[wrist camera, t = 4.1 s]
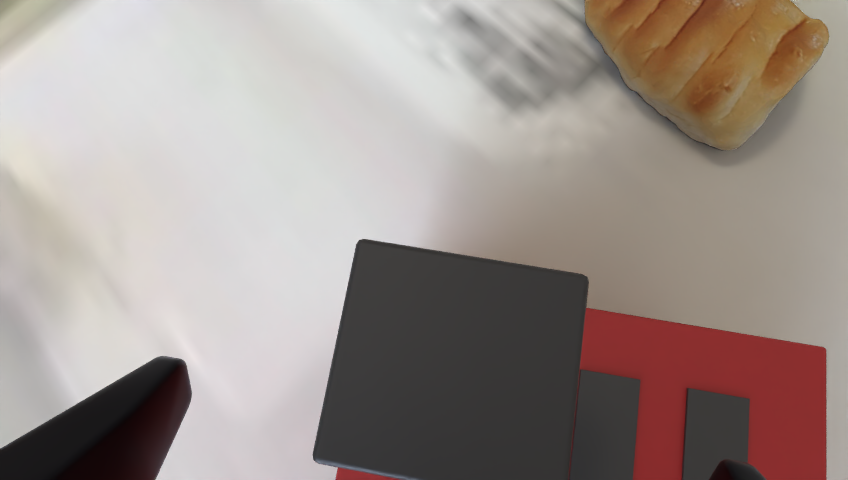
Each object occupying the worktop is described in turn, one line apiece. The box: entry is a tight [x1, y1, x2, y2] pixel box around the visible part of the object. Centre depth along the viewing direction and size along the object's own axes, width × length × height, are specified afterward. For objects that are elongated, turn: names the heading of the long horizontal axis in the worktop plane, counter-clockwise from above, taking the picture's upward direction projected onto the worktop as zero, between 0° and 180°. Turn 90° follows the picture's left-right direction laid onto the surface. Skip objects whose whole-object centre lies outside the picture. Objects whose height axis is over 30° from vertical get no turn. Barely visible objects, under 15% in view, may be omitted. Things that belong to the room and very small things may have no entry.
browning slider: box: [313, 239, 589, 480], centre depth 9 cm, size 2×3×7 cm
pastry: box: [585, 0, 829, 150], centre depth 22 cm, size 9×7×4 cm
